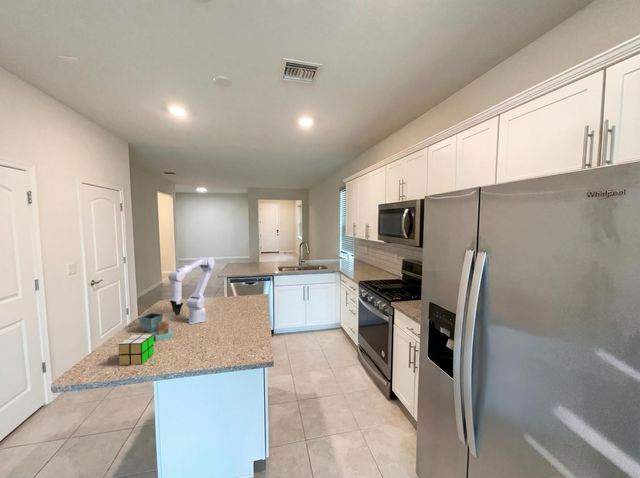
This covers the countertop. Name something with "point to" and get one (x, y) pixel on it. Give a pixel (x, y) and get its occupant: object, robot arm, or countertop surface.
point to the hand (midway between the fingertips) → (176, 313)
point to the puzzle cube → (136, 349)
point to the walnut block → (162, 327)
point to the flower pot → (150, 322)
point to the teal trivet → (163, 335)
